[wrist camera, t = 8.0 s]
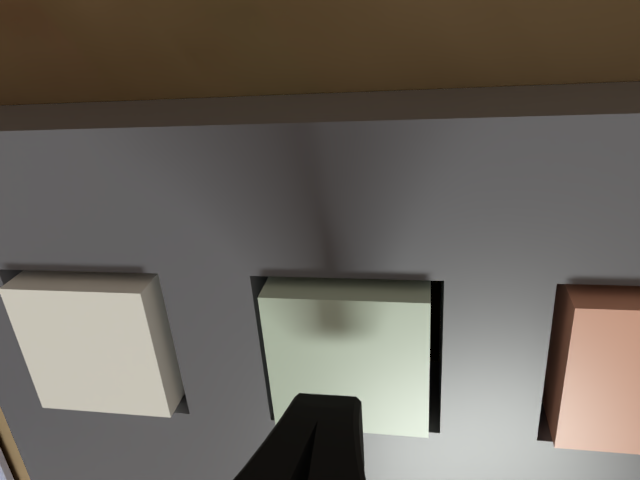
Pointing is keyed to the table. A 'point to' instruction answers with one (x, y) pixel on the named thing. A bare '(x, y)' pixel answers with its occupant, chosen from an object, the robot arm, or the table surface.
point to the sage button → (351, 346)
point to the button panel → (326, 257)
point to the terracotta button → (594, 369)
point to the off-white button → (96, 340)
